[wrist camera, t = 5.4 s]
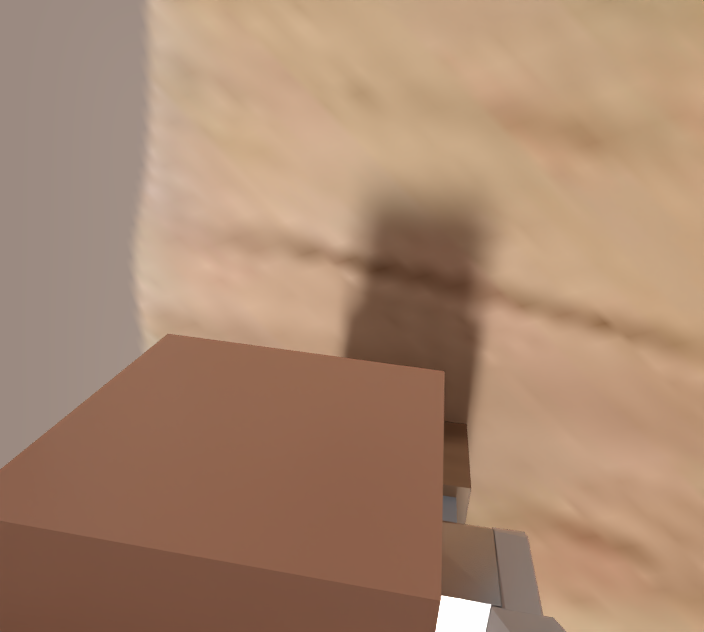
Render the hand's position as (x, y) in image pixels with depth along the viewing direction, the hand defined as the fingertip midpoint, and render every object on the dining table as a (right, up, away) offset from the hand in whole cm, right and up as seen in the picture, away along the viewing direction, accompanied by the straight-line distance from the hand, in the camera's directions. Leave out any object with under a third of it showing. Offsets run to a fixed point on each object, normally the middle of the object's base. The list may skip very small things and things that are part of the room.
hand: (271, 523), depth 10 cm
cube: (0, 0, +2) cm, 2 cm away
